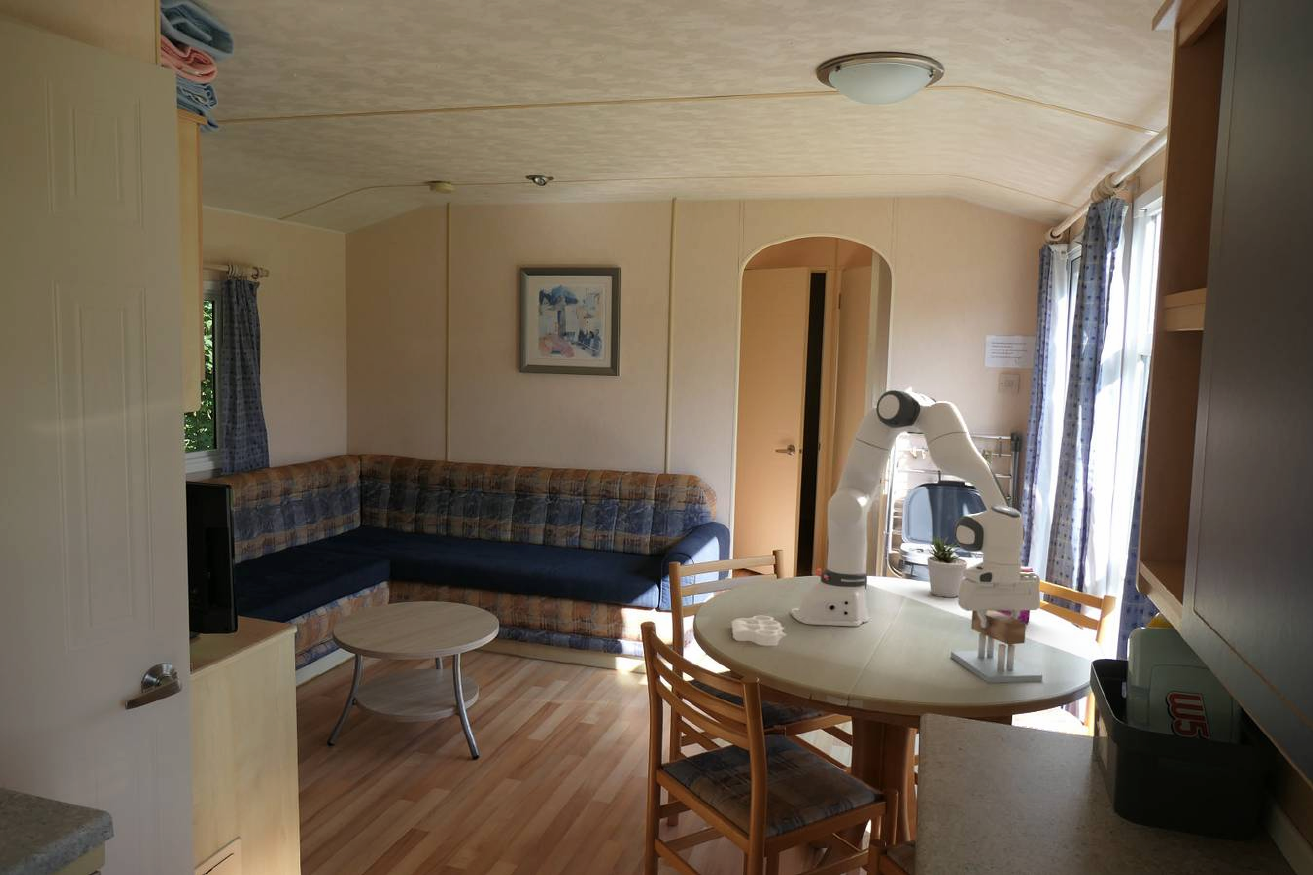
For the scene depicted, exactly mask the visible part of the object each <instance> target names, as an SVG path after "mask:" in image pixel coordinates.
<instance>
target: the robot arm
mask: <svg viewBox="0 0 1313 875" xmlns="http://www.w3.org/2000/svg"><path fill="white" fill-rule="evenodd" d="M904 432H906V433H907V434H908V435H909V434H910V435H912V434H915V435H923V436H924V438H925V442H926V445H927V446H926V447H927V449H928V453H929V455H930V458H931V460H932V462H933V464H934V465H935V467H936V468H937V469H939V470H940V471H941V472H942V473H945V474H947V475H950V476H953V477H956V478H959V479H961V480H963V481H965V482H967V483H969V484H970V485H971V486H973V487H974V488H975V489H976V491H977V493H978V494H979V496H980V498H981V501H982V502H983V504H984V507H985V509H986V510H984V511H982V512H979V513H974V514H968V515H967V514H966V515H963V516H961V517H960V518H959V519H958V520H957V522H956V524H955V527H954V528H955V529H954V538H955V542H956V544H957V546H959V548H962V549H961V550H962V551H965V552H968V553H982V554H983V557H982V562H979V563H976V564H974V565H971V566H968V567H966V568H965V569H964V570H963V576H964V577H963V580H962V582H961V584H960V589H959V596H957V597H958V599H957V603H958V605H959V607H960V608H961V609H962V610H964V611H967V612H972V611H977V614H978V616H979V617H980V619H981V627H982V628H989V627H990V621H988V620H986V618H985V615H986V614H987V611H999V610H1010V612H1012V614H1011V616H1010V617H1012V618H1015V619H1017V618H1018V617H1019V615H1020V610H1030V611H1037V610H1038V609H1039V607H1040V606H1041V604H1040V603H1041V600H1040V599H1041V598H1040V597H1041V596H1040V580H1041V579H1040V577H1039V575H1038V574H1036V573H1035V572H1034V571H1033V572H1029V573H1025V572H1021V566H1022V558H1021V551H1022V548H1023V544H1024V540H1025V537H1026V530H1025V526H1024V521H1023V517H1022V514H1021V512H1020V511H1018V510H1017V509H1015V508H1013V507H1012V505H1011V503H1010V501H1009V499H1008V497H1007V495H1006V493H1005V491H1004V489H1003V487H1002V485H1001V483H1000V481H999V478H998V477H997V474H996V473H995V471H994V469H993V467H992V466H991V464H990V462H988V460H986V459H985V457H983V456H982V455H981V453H980V452H979V451H978V449H977V447H976V446H975V444H974V443H973V441H972V438H971V436H970V434H969V430H968V427H967V425H966V423H965V421H964V419H963V416H962V415H961V412H960V411H959V409H958V408H957V407H956V405H955V404H954V403H952V402H950V401H937V400H936V399H934V398H933V397H929V396H926V395H924V394H921V393H918V392H911V391H905V390H902V389H891V390H888V391H886V392H884V393H883V394H882V395H880V397H879V399H878V400H877V403H876V406H872V407H871V408H869V409H868V410H867V412H866V413H865V415H864V417H863V418H862V420H861V422H860V423H859V427H858V429H857V431H856V433H855V436H854V438H853V441H852V443H851V446H850V447H849V448H850V449H849V451H848V454H847V457H846V458H845V459H846V460H845V462H844V467H843V469H842V473H841V476H840V480H839V482H838V484H837V488H836V491H835V492H834V493H833V495H832V496H831V497H830V498H829V501H828V503H827V532H828V533H827V534H828V536H827V538H828V552H827V568H825V569H824V570H822V569H821V568H816V570H815V574H816V575H817V576H818V577H820V581H818V582H817V583H816V584H815V585H813V586H811V587H810V588H809V589H807V590H806V591H804V592H803V593H802V594H801V597H800V600H799V604H798V605H799V606H798V607H794V608H792V609H791V612H790V613H791V614H790V615H791V616H792V617H793V618H794V619H795V620H796V621H798V622H800V623H802V624H805V625H811V626H812V625H813V626H814V625H816V626H838V627H842V626H843V627H860V626H861V624H864V623H866V622H868V621H869V620H870V618H869V614H868V610H867V601H866V600H867V598H866V591H867V584H868V572H867V570H866V569H867V553H868V552H867V551H868V540H867V533H868V532H867V527H868V526H867V525H868V524H867V521H868V513H869V512H870V510H871V508H872V505H873V502H874V498H875V496H876V494H877V491H878V487H879V485H880V482H881V479H882V477H883V473H884V471H885V468H886V466H887V463H888V460H889V458H890V456H891V453H892V449H893V447H894V444H895V442H896V439H897V438H898V436H899V435H900V434H902V433H904ZM863 622H864V623H863Z"/></svg>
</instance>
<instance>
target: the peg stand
mask: <svg viewBox="0 0 1313 875" xmlns="http://www.w3.org/2000/svg"><path fill="white" fill-rule="evenodd" d="M978 633H979V634H978V648H977V649H978V650H972V651H971V650H966V651H965V650H964V651H962V650H961V651H960V650H959V651H951V652H950V658H951V659H953V660H955V661H956V663H959V664H960V665H962V667H964V668H965V669H968V670H969V671H970V672H972V673H973V674H974V675H976V676H977V677H979V678H980V679H982V680H984V681H985V682H987V683H991V684H992V683H993V684H994V683H1021V682H1025V681H1030V682H1043V674H1041V673H1039V672H1038V671H1037V670H1034V669H1033V668H1031V667H1030V666H1028V665H1027V664H1025V663H1023V662H1022V661H1020V660H1018V659H1016V658H1015V649H1016V646H1015V645H1016V644H1010V645H1008V644H1004V643H1000V644H998V650H995V640H996V639H994V638H992V637H989V636H987V635H985V634H982V633H980V632H978ZM986 641H987V643H986ZM986 644H987V648H986ZM1006 645H1007V646H1006ZM1006 648H1007V652H1006Z"/></svg>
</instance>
